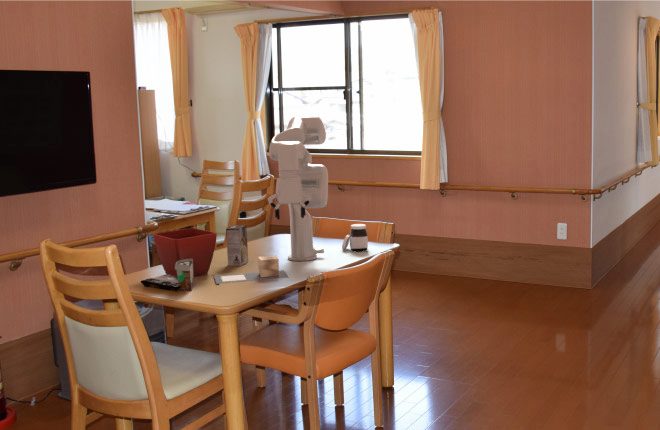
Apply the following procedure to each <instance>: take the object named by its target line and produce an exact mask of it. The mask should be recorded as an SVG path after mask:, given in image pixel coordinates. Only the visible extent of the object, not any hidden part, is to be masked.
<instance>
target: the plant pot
mask: <svg viewBox="0 0 660 430" xmlns="http://www.w3.org/2000/svg"><path fill="white" fill-rule="evenodd" d="M152 236H153V241H154V245H155V249H156V253H157V254H158V258H159V261H160V264H161V266H162V268H163V270H164V272H165V274H166V275H168V276H172V277H174V278H177V279H178V276H177V270H176V269H175V264H176V262H177V261H180V260H185V259H193V275H194V277H196V276H202V275H207V274H208V273H209V272H210V267H211V264H212V262H213V257H214V253H215V248H216V243H217V232H214V231H210V230H205V229H200V228H195V227H191V228H184V229H175V230H170V231H162V232H155V233H153V234H152Z"/></svg>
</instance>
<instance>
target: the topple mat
mask: <svg viewBox="0 0 660 430" xmlns="http://www.w3.org/2000/svg"><path fill="white" fill-rule="evenodd" d="M213 278H214V281H215V284H216V285H217V286H220V284H229V283H240V282H252V281H253V282H254V281H264V280H276V279H277V280H279V279H289V278H290V276H289V275H288V273H287V272H286V271H285V270H282V269H281V270H279V277H267V278H261V277H260V275H259V271H257V272H245V273H237V274H234V273H233V274H223V275H222V274H221V275H213Z"/></svg>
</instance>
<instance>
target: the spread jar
mask: <svg viewBox="0 0 660 430" xmlns="http://www.w3.org/2000/svg"><path fill="white" fill-rule="evenodd" d="M366 228H367V225H366V224H364V223H354V224H350V231H349V234H346V236H344V239H343V241H342V246H341V249H342V250H344V251H345V250H347V249H348V248H347V247H348V246H349V247H350V250H351V252H354V251H356V252H355V253H362V251H363V252H366V251H367V250H368V249H369V248H368V247H369V246H368V245H369V244H368V242H369V240H368V231H367V229H366Z"/></svg>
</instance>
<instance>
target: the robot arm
mask: <svg viewBox="0 0 660 430" xmlns="http://www.w3.org/2000/svg"><path fill="white" fill-rule="evenodd" d="M286 127H287V128H286V130H283V131H282V132H279V133H277V134H275V135H273V137H272V139H271V141H270V143H269V148H268V154H269V157H270V159H271V160H273V161H277V162H278V178H276V186H275V193H274V194H272V195H271V196H269V197H268V198H267V202H268V203H269V205H270V206H271V207H272V208H273V209H274V217H275V218H276V219H277V220H280V219H281V218H280V217H281V215H280V209H279V208H280V207H281V205H287V206H288V210H289V211H288V212H289V224H290V225H289V226H290V227H289V228H290V248H291V249H290V252H291V253H290V254H288V256H287V259H288V260H289V261H294V262H308V261H312V260H316V259H317V258H318V254H324V253H325V249H324V248H320V247H319V248H315V247H314V242H313V241H314V239H313V237H314V236H313V219H312V215H311V214H310V213H309V212H308V210H307V209H321V208H325V207H327V203H328V199H329V172H328V168H327V167H326V165H324V164H320V163H319V164H316V163H315V164H312V163H313V157H312V154H311V153H310V151H309V150H308V149H306V146H309V145H311V146H312V145H322V144H324V143H325V142H326V138H327V132H326V129H325V126H324V123H323V120H322V119H321V118H320V116H318V115H297V116H296V115H295V116H293V117H292V118H290V120H289V121H288V124H287V126H286ZM305 145H306V146H305ZM273 200H276V204H275V203H274V202H273Z"/></svg>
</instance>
